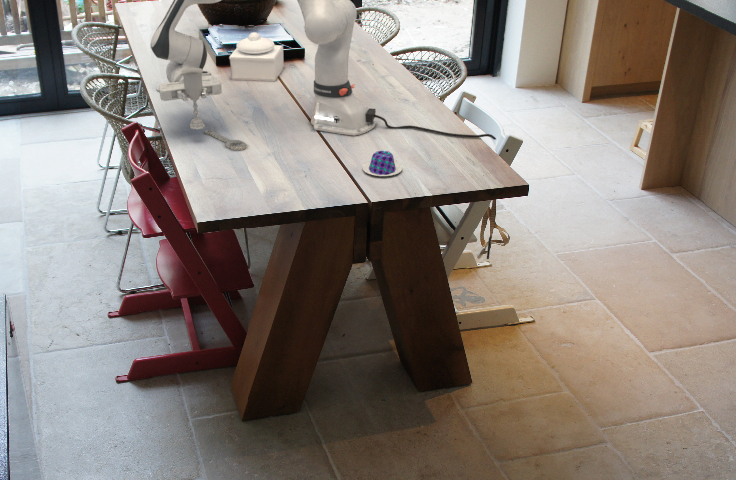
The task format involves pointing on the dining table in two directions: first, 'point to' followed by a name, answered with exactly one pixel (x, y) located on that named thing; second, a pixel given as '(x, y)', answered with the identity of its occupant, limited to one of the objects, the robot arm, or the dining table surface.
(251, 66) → the white square lidded jar
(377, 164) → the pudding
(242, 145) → the spoon
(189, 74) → the chalice
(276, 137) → the dining table surface
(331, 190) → the dining table surface
